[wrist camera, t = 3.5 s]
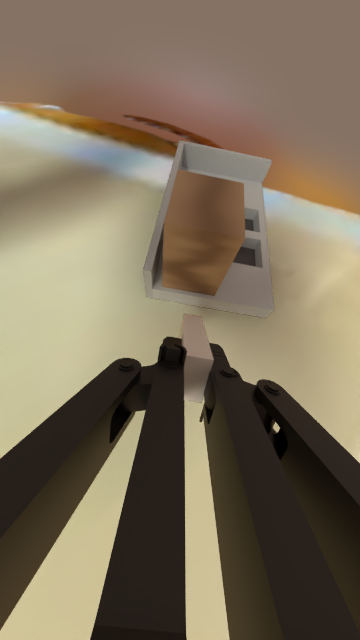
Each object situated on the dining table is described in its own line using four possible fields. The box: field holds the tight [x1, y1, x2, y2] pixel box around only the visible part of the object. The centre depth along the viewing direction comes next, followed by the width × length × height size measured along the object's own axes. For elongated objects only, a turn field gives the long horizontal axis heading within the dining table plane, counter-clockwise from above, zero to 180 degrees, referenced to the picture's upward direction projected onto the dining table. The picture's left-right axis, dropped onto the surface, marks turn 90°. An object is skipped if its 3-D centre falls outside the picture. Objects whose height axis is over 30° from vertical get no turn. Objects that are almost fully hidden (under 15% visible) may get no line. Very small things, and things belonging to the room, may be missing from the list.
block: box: [162, 170, 245, 296], centre depth 18 cm, size 6×7×8 cm
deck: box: [143, 140, 274, 318], centre depth 25 cm, size 15×26×5 cm, turn 172°
